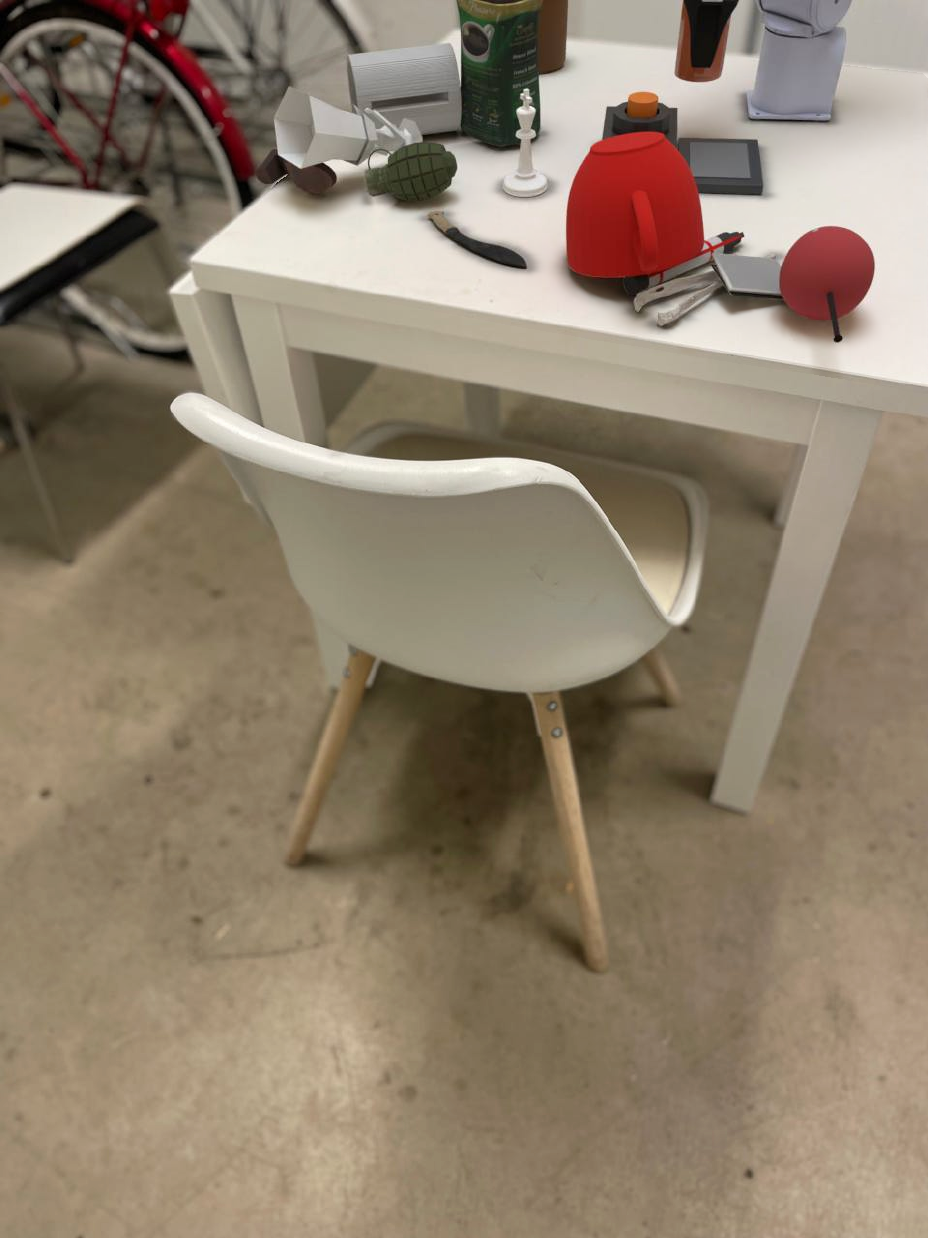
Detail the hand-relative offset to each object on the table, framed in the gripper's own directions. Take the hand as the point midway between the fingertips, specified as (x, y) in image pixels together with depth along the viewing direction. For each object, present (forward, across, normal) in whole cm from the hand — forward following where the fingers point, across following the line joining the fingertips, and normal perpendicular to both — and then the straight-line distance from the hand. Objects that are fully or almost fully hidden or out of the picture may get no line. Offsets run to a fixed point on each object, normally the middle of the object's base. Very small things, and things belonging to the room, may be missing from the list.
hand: (701, 56), depth 105 cm
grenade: (+5, +16, -25) cm, 30 cm away
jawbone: (+10, +33, +2) cm, 35 cm away
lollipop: (+4, +48, +11) cm, 50 cm away
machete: (+10, +25, -19) cm, 33 cm away
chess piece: (+9, +14, -18) cm, 24 cm away
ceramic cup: (-3, +31, -7) cm, 32 cm away
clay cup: (+2, 0, 0) cm, 2 cm away
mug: (+9, -22, -22) cm, 33 cm away
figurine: (+1, +20, -41) cm, 46 cm away
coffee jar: (+9, 0, -22) cm, 24 cm away
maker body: (+9, +8, -6) cm, 13 cm away
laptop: (+6, +34, +6) cm, 35 cm away
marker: (+8, +31, +1) cm, 32 cm away
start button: (+3, +8, -6) cm, 10 cm away
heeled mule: (+7, +17, -44) cm, 48 cm away
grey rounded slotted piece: (+4, +3, -40) cm, 40 cm away
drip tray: (+9, +8, +3) cm, 12 cm away
